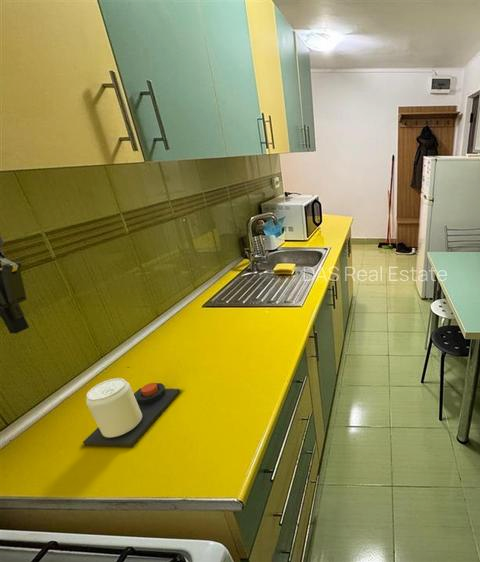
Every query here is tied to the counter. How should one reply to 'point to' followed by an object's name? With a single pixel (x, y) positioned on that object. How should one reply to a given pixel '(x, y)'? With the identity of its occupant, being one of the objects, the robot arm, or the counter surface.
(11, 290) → the robot arm
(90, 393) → the beverage can
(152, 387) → the button
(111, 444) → the warming base
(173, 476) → the counter surface
